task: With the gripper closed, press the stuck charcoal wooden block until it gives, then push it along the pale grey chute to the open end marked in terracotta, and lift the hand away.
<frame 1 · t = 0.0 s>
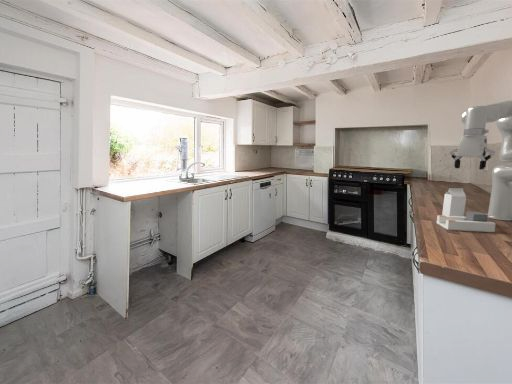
hand: (468, 168, 117), 31 cm above the table, tool pointing down, fingers open, 9 cm apart
chute: (463, 227, 126), on the table
jammed block: (476, 219, 124), point 5 cm above the table, slide at 0.0 cm
milk carton: (451, 221, 138), on the table
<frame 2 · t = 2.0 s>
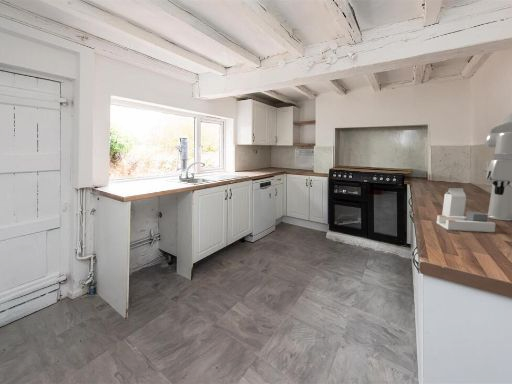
hand: (498, 194, 119), 18 cm above the table, tool pointing down, fingers closed
nothing on the table moved.
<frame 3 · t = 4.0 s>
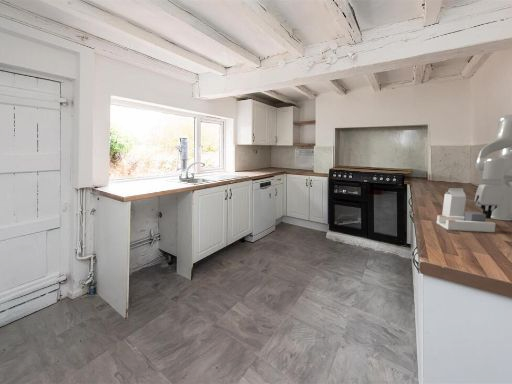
hand: (486, 217, 122), 6 cm above the table, tool pointing down, fingers closed
jammed block: (474, 219, 124), point 5 cm above the table, slide at 0.7 cm, touching gripper
everything else where it was.
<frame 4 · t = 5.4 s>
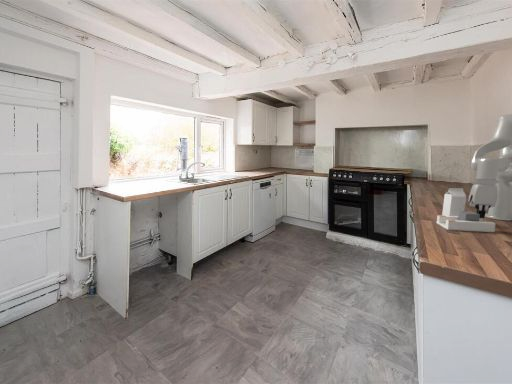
hand: (480, 217, 123), 6 cm above the table, tool pointing down, fingers closed
jammed block: (468, 219, 124), point 5 cm above the table, slide at 3.4 cm, touching gripper
everything else where it was.
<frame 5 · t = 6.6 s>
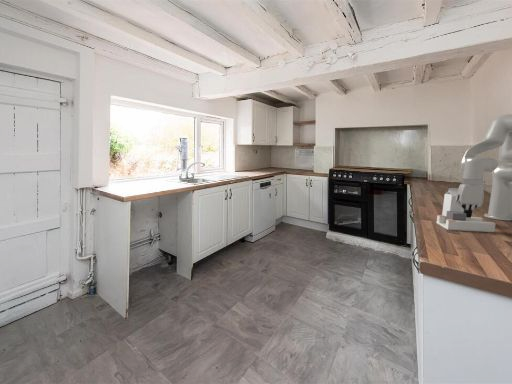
hand: (467, 217, 124), 6 cm above the table, tool pointing down, fingers closed
jammed block: (455, 218, 126), point 5 cm above the table, slide at 9.1 cm, touching gripper
everything else where it was.
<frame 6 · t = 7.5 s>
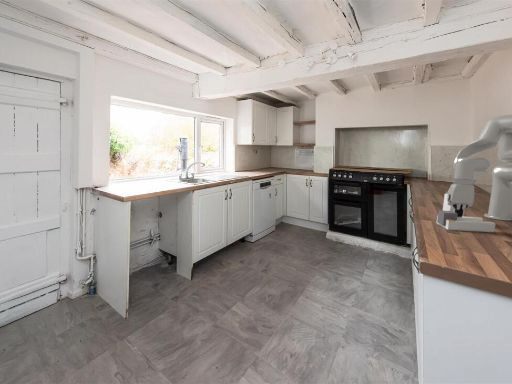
hand: (458, 216, 125), 6 cm above the table, tool pointing down, fingers closed
jammed block: (447, 218, 127), point 5 cm above the table, slide at 13.1 cm, touching gripper
everything else where it was.
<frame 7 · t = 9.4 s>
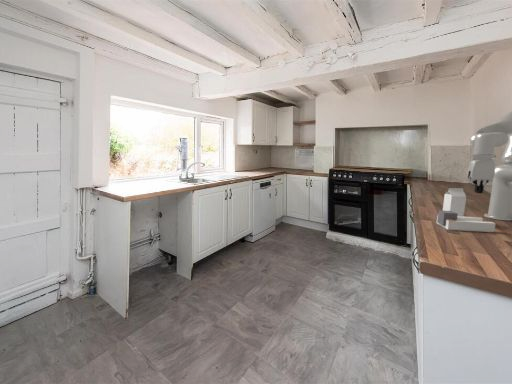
hand: (478, 192, 126), 18 cm above the table, tool pointing down, fingers closed
jammed block: (447, 218, 127), point 5 cm above the table, slide at 13.0 cm
everything else where it was.
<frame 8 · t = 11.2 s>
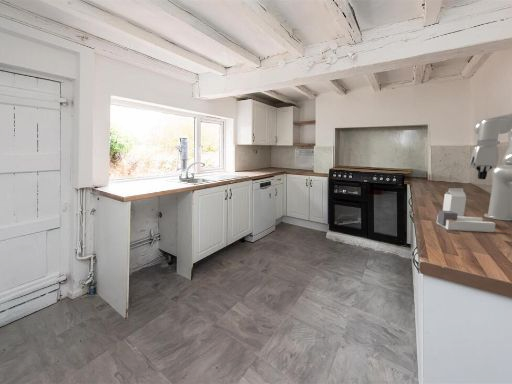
hand: (481, 178, 126), 25 cm above the table, tool pointing down, fingers closed
nothing on the table moved.
at the end: jammed block slide at 13.0 cm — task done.
